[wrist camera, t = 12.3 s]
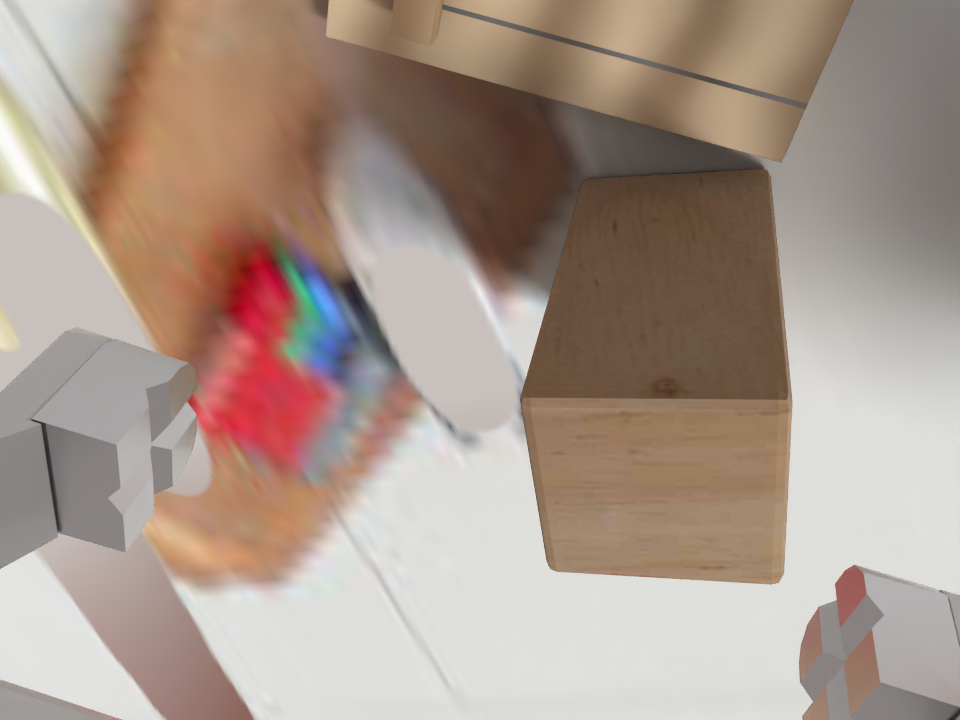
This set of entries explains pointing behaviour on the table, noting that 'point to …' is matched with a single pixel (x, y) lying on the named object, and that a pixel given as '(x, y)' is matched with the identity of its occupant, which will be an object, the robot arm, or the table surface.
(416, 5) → the block
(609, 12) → the board
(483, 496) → the table surface
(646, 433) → the wooden block
